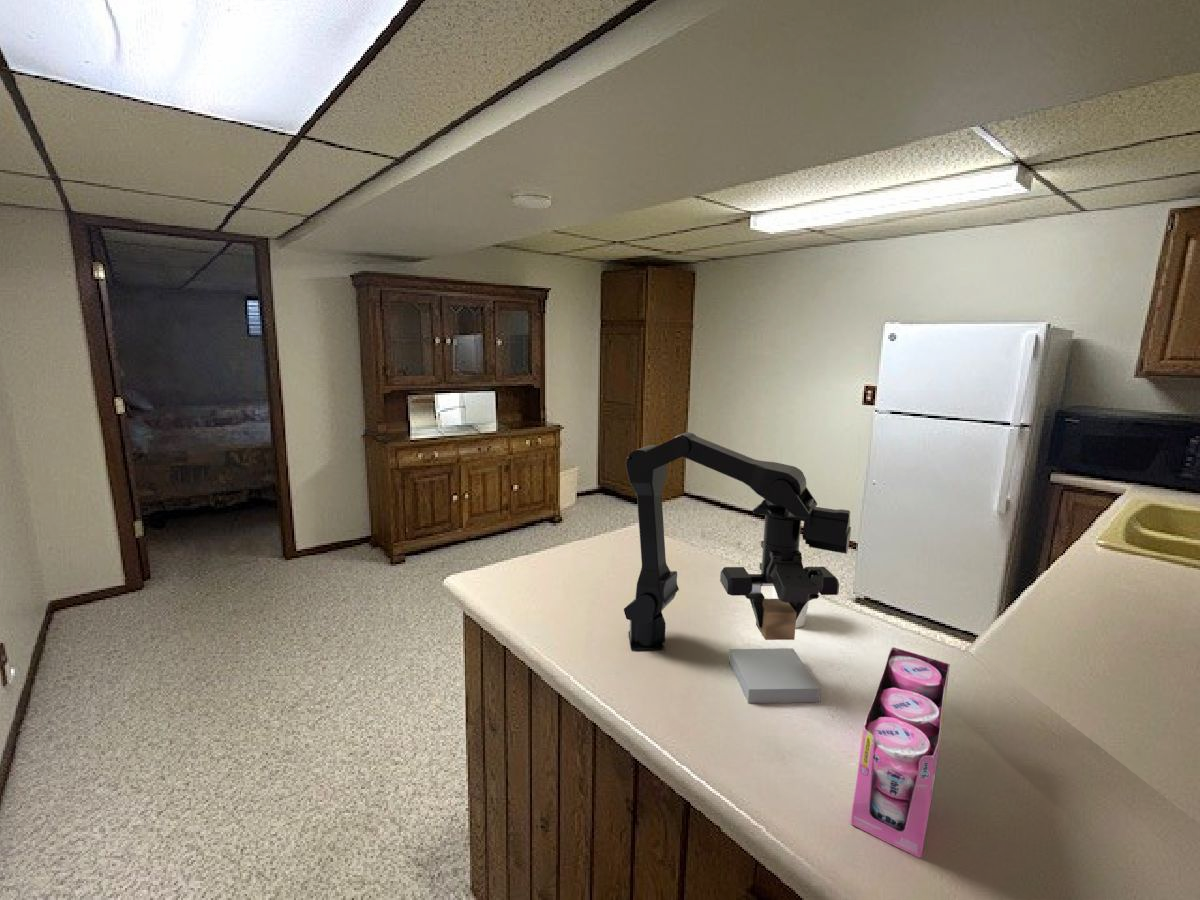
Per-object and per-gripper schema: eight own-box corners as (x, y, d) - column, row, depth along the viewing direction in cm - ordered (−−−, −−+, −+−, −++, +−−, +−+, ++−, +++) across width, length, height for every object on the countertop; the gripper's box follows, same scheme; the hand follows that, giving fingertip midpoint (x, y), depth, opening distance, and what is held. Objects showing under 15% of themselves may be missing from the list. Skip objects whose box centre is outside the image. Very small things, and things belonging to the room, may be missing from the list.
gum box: (921, 871, 60) (936, 766, 57) (846, 833, 64) (856, 735, 62) (940, 746, 79) (951, 663, 76) (880, 723, 83) (889, 645, 81)
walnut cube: (765, 639, 90) (767, 612, 89) (755, 624, 95) (757, 598, 94) (794, 639, 90) (796, 612, 89) (783, 624, 95) (785, 598, 94)
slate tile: (748, 702, 88) (749, 689, 88) (729, 661, 100) (729, 648, 99) (819, 701, 88) (820, 688, 88) (792, 660, 100) (793, 648, 100)
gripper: (739, 560, 81) (734, 653, 84) (860, 559, 82) (850, 652, 84) (721, 535, 92) (717, 617, 95) (827, 534, 92) (820, 617, 95)
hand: (774, 626), depth 92 cm, fingers closed on walnut cube, 5 cm apart
